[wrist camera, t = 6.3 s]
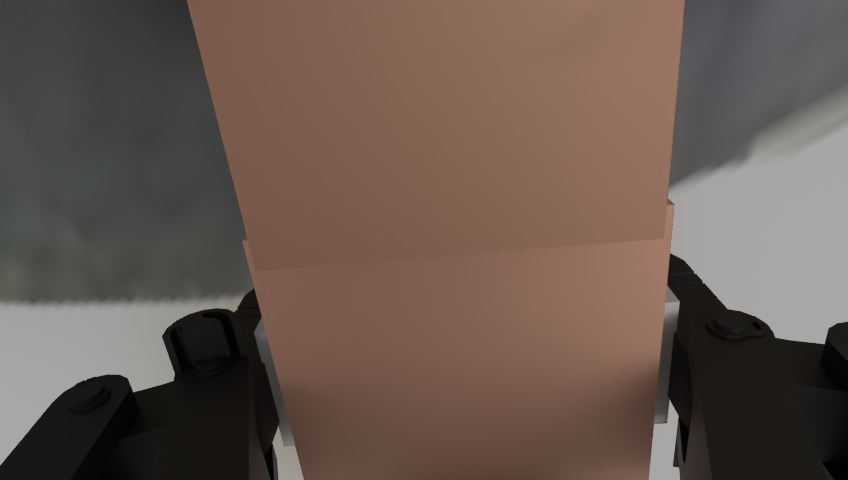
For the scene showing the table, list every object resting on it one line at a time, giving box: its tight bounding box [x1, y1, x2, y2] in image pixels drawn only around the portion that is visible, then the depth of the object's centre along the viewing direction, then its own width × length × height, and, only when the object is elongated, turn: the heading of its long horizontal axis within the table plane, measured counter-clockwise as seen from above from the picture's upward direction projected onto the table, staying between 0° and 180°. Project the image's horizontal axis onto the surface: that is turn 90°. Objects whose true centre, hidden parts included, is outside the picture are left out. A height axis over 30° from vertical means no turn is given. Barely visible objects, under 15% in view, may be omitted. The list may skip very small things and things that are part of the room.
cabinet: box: [187, 0, 685, 480], centre depth 12 cm, size 6×10×9 cm, turn 6°
